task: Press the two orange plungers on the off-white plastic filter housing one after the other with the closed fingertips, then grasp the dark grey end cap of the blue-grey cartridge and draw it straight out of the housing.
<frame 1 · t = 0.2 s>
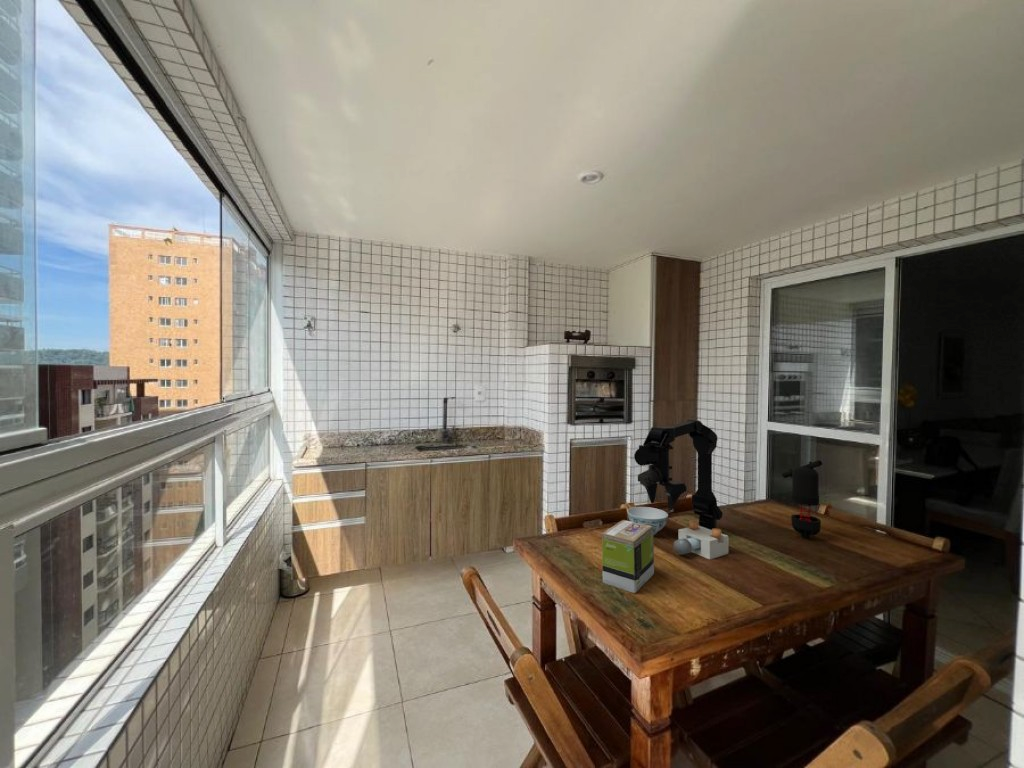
hand: (661, 506, 141), 14 cm above the table, fingers open, 9 cm apart
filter: (802, 537, 150), on the table
chinaware: (647, 533, 154), on the table
tea box: (628, 579, 116), on the table
cartridge: (695, 542, 135), point 3 cm above the table, slide at 0.0 cm
plunger b: (716, 533, 134), point 7 cm above the table, slide at 0.0 cm
plunger a: (693, 525, 142), point 7 cm above the table, slide at 0.0 cm
housing: (702, 550, 137), on the table
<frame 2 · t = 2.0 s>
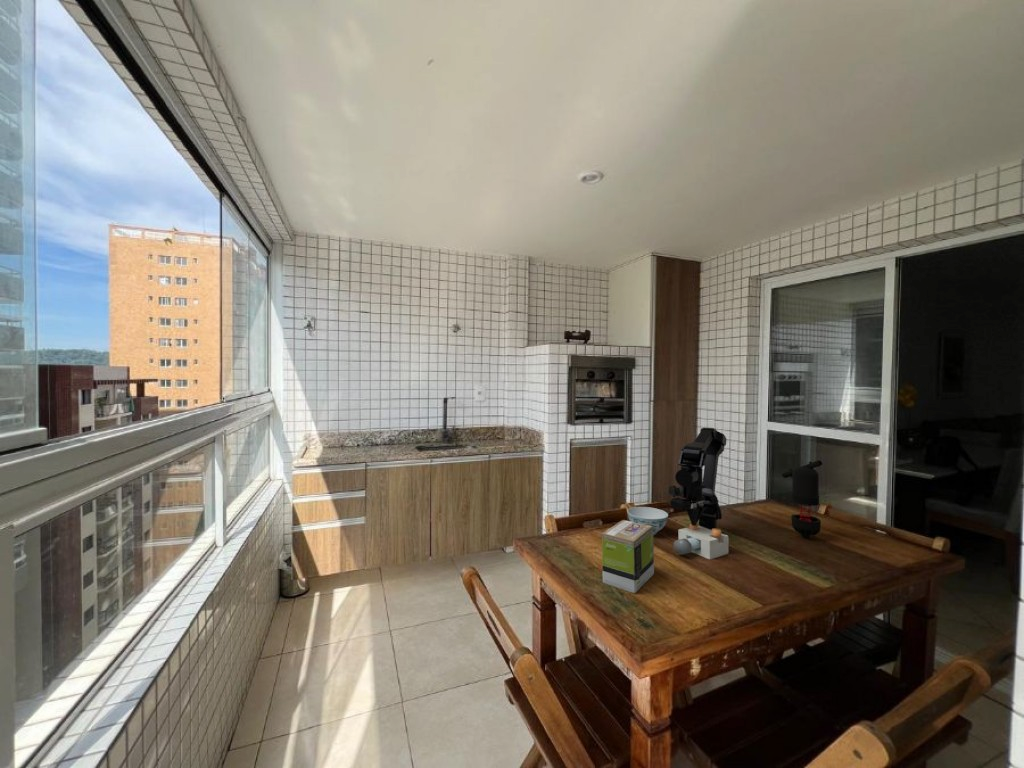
hand: (693, 525, 142), 7 cm above the table, fingers closed, pressing on plunger a
plunger a: (693, 528, 142), point 6 cm above the table, slide at 1.1 cm, touching gripper
everything else where it was.
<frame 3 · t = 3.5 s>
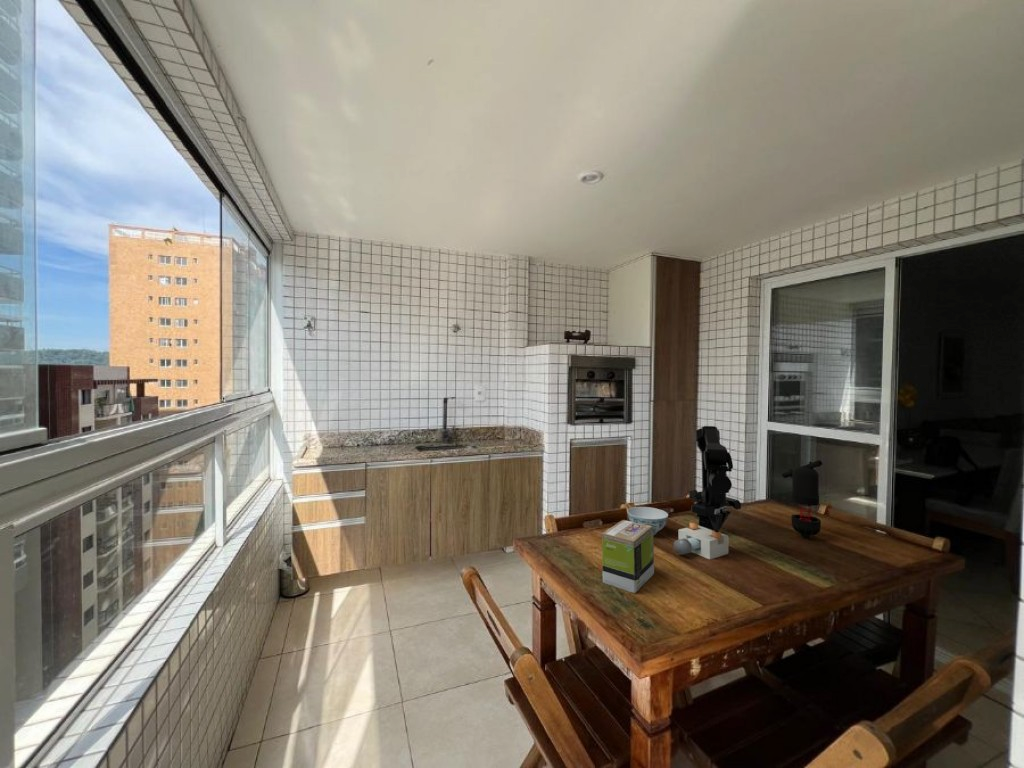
hand: (716, 531, 134), 7 cm above the table, fingers closed, pressing on plunger b
plunger b: (716, 535, 134), point 6 cm above the table, slide at 0.7 cm, touching gripper
plunger a: (693, 527, 142), point 6 cm above the table, slide at 0.6 cm
everything else where it was.
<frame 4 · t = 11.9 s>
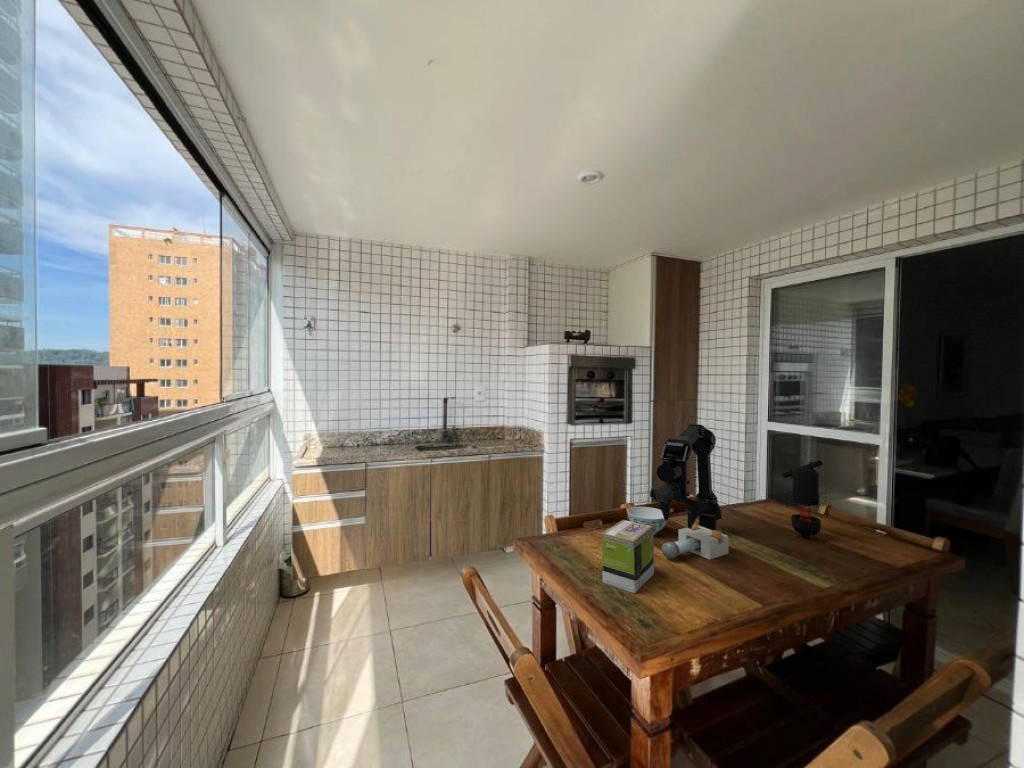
hand: (677, 524, 131), 11 cm above the table, fingers open, 9 cm apart
cartridge: (683, 546, 132), point 3 cm above the table, slide at 6.0 cm
plunger b: (716, 535, 134), point 6 cm above the table, slide at 0.6 cm
everything else where it was.
at the end: cartridge slide at 6.0 cm; the gripper is holding nothing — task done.
